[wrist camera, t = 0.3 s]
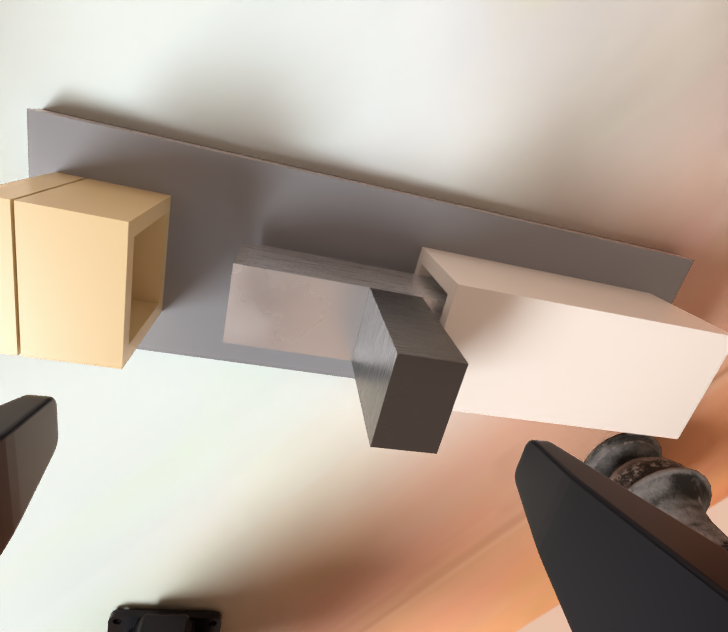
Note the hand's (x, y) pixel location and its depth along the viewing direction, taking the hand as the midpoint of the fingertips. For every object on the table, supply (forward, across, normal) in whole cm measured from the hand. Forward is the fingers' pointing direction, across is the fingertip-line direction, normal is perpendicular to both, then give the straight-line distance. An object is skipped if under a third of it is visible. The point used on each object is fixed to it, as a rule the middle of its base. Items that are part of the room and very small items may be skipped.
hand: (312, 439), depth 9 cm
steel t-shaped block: (+11, -6, +1) cm, 13 cm away
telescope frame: (+13, -3, +1) cm, 13 cm away
